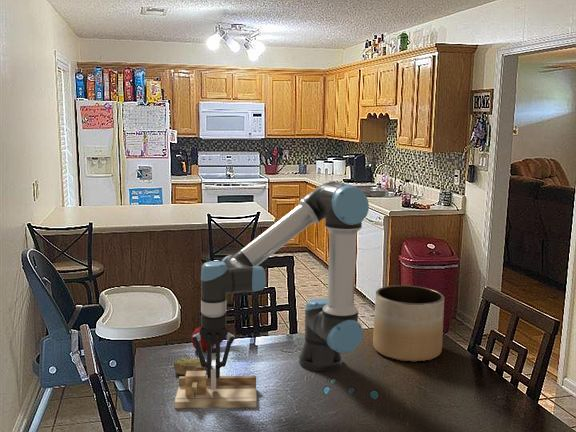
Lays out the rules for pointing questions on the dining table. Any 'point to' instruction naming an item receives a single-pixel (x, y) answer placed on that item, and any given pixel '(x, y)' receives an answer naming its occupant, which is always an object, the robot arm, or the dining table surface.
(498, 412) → the dining table surface
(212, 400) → the board
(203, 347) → the apple
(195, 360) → the rock
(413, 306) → the planter
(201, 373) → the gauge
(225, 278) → the robot arm
